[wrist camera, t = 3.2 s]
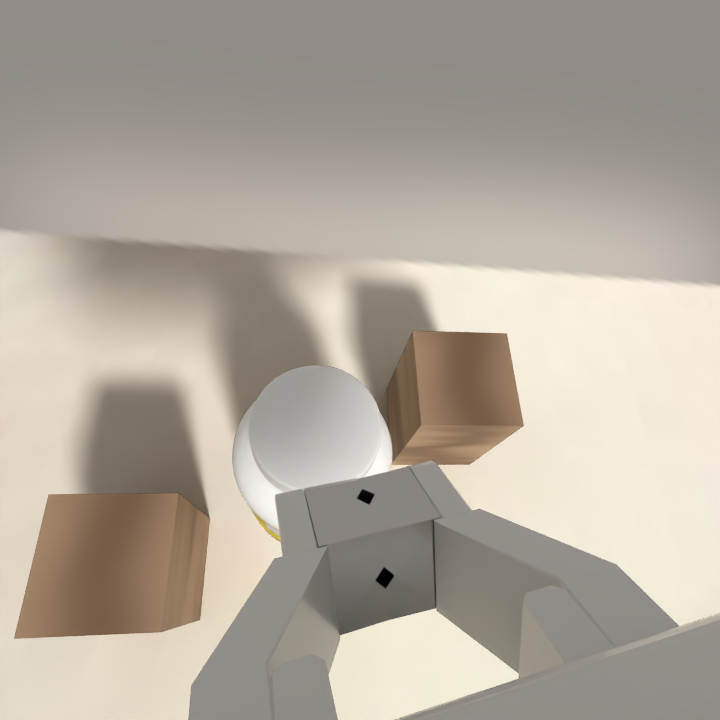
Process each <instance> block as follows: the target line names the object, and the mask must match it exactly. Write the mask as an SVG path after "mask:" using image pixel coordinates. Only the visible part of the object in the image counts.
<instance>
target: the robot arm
mask: <svg viewBox="0 0 720 720" xmlns="http://www.w3.org/2000/svg"><path fill="white" fill-rule="evenodd" d="M275 504H276V511H277V518H278V525H279V532H280V539H281V546H282V553H283V557H279V558H275V559H274V560H273V562H272V563H271V565H270V566H269V568H268V569H267V571H266V572H265V574H264V575H263V577H262V578H261V580H260V581H259V583H258V584H257V586H256V588H255V589H254V591H253V592H252V594H251V595H250V597H249V598H248V600H247V601H246V603H245V604H244V606H243V607H242V609H241V610H240V612H239V614H238V615H237V617H236V618H235V620H234V621H233V623H232V624H231V626H230V627H229V629H228V630H227V632H226V633H225V635H224V636H223V638H222V639H221V641H220V643H219V644H218V646H217V647H216V649H215V650H214V652H213V653H212V655H211V656H210V658H209V659H208V661H207V662H206V664H205V665H204V667H203V669H202V670H201V672H200V673H199V675H198V676H197V678H196V679H195V681H194V682H193V684H192V685H191V696H190V708H189V719H188V720H338V719H337V715H336V710H335V705H334V700H333V696H332V691H331V686H330V681H329V677H328V675H329V672H330V668H331V665H332V662H333V659H334V656H335V653H336V650H337V647H338V644H339V640H340V635H342V634H346V633H349V632H352V631H355V630H358V629H361V628H365V627H368V626H371V625H374V624H377V623H380V622H384V621H387V620H391V619H395V618H399V617H403V616H407V615H411V614H415V613H419V612H423V611H427V610H430V609H434V608H437V611H438V612H439V613H440V614H442V615H443V616H444V617H446V618H447V619H448V620H450V621H451V622H452V623H454V624H455V625H456V626H457V627H459V628H460V629H461V630H463V631H464V632H465V633H467V634H468V635H469V636H470V637H472V638H473V639H474V640H476V641H477V642H478V643H480V644H481V645H482V646H484V647H485V648H486V649H487V650H489V651H490V652H491V653H493V654H494V655H495V656H497V657H498V658H499V659H501V660H502V661H503V662H504V663H506V664H507V665H508V666H510V667H511V668H512V669H514V670H515V671H516V672H518V673H519V679H517V680H514V681H511V682H508V683H505V684H502V685H499V686H496V687H493V688H489V689H486V690H483V691H480V692H477V693H474V694H471V695H468V696H465V697H462V698H459V699H456V700H453V701H450V702H447V703H444V704H441V705H437V706H434V707H431V708H428V709H425V710H422V711H419V712H416V713H413V714H410V715H407V716H404V717H401V718H398V719H395V720H720V613H719V614H716V615H713V616H710V617H707V618H703V619H700V620H697V621H694V622H691V623H688V624H685V625H682V626H679V625H678V624H677V623H675V622H674V621H673V620H672V619H671V618H670V617H669V616H668V615H667V614H666V613H665V612H664V611H663V610H662V609H661V608H660V607H659V606H658V605H657V604H656V603H655V602H654V601H653V600H652V599H651V598H650V597H649V596H648V595H647V594H646V593H645V592H644V591H643V590H642V589H641V588H640V587H639V586H638V585H637V584H636V583H635V582H634V581H633V580H632V579H631V578H630V577H628V576H627V575H626V574H625V573H624V572H623V571H622V570H621V569H620V568H619V567H618V566H617V565H616V564H613V563H611V562H608V561H606V560H604V559H601V558H599V557H596V556H594V555H591V554H589V553H586V552H584V551H582V550H579V549H577V548H574V547H572V546H569V545H567V544H564V543H562V542H560V541H557V540H555V539H552V538H550V537H547V536H545V535H542V534H540V533H538V532H535V531H533V530H530V529H528V528H525V527H523V526H520V525H518V524H515V523H513V522H511V521H508V520H506V519H503V518H501V517H498V516H496V515H493V514H491V513H489V512H486V511H484V510H481V509H477V510H473V511H472V510H471V508H470V507H469V506H468V505H467V503H466V502H465V501H464V499H463V498H462V497H461V495H460V494H459V493H458V491H457V490H456V489H455V487H454V486H453V485H452V484H451V482H450V481H449V480H448V478H447V477H446V476H445V474H444V473H443V472H442V470H441V469H440V468H439V466H438V465H437V464H436V463H435V462H434V461H431V460H430V461H426V462H422V463H419V464H415V465H411V466H407V467H405V468H401V469H396V470H392V471H388V472H383V473H379V474H375V475H370V476H366V477H362V478H358V479H357V478H354V479H349V480H344V481H339V482H334V483H329V484H323V485H318V486H313V487H308V488H304V490H303V489H298V490H293V491H289V492H284V493H279V494H275Z"/></svg>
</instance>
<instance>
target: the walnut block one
mask: <svg viewBox="0 0 720 720" xmlns="http://www.w3.org/2000/svg"><path fill="white" fill-rule="evenodd" d="M209 523H210V518H208V517H207V516H206V515H205V514H204V513H202V512H201V511H200V510H199V509H197V508H196V507H195V506H194V505H193V504H191V503H190V502H189V501H188V500H186V499H185V498H184V497H183V496H181V495H180V494H179V493H144V494H51V495H48V499H47V504H46V508H45V512H44V516H43V520H42V524H41V529H40V533H39V537H38V541H37V545H36V549H35V554H34V558H33V562H32V566H31V570H30V574H29V579H28V583H27V587H26V591H25V595H24V599H23V604H22V608H21V612H20V616H19V620H18V624H17V629H16V633H15V637H14V639H17V638H40V637H62V636H85V635H108V634H130V633H153V632H163V631H166V630H169V629H172V628H176V627H179V626H182V625H185V624H188V623H191V622H195V621H198V620H200V615H201V605H202V595H203V584H204V574H205V564H206V554H207V543H208V533H209Z"/></svg>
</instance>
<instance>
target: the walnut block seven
mask: <svg viewBox="0 0 720 720" xmlns="http://www.w3.org/2000/svg"><path fill="white" fill-rule="evenodd" d="M387 405H388V422H389V433H390V437H391V442H392V465H415V464H419V463H422V462H426V461H430V460H431V461H434V462H435V463H436V464H437V465H455V464H471V463H472V462H474V461H475V460H476V459H478V458H479V457H481V456H482V455H483V454H485V453H486V452H488V451H489V450H490V449H492V448H493V447H495V446H496V445H497V444H499V443H500V442H502V441H503V440H504V439H506V438H507V437H509V436H510V435H511V434H513V433H514V432H516V431H517V430H518V429H520V428H521V427H523V426H524V425H523V420H522V414H521V409H520V403H519V398H518V392H517V387H516V381H515V376H514V370H513V365H512V360H511V354H510V349H509V343H508V338H507V334H504V333H471V332H438V331H413V332H412V334H411V336H410V338H409V341H408V343H407V345H406V347H405V349H404V352H403V354H402V356H401V358H400V360H399V363H398V365H397V367H396V369H395V371H394V374H393V376H392V378H391V380H390V383H389V385H388V387H387Z"/></svg>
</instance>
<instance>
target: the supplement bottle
mask: <svg viewBox="0 0 720 720" xmlns="http://www.w3.org/2000/svg"><path fill="white" fill-rule="evenodd" d="M232 463H233V470H234V476H235V479H236V482H237V485H238V488H239V490H240V492H241V494H242V496H243V498H244V499H245V501H246V502H247V504H248V505H249V507H250V508H251V510H252V512H253V513H254V515H255V516H256V518H257V519H258V521H259V522H260V524H261V525H262V526H263V528H264V529H265V530H266V531H267V532H268V533H269V534H270V535H271V536H272V537H274V538H275V539H276V540H278V541H280V542H281V539H280V532H279V525H278V518H277V511H276V504H275V494H279V493H284V492H289V491H293V490H298V489H303V490H304V488H308V487H313V486H318V485H323V484H329V483H334V482H339V481H344V480H349V479H354V478H357V479H358V478H362V477H366V476H370V475H375V474H379V473H383V472H388V471H391V466H392V442H391V437H390V433H389V430H388V427H387V425H386V422H385V420H384V418H383V416H382V415H381V413H380V411H379V408H378V406H377V403H376V401H375V399H374V398H373V396H372V394H371V393H370V392H369V390H368V389H367V388H366V387H365V386H364V385H363V384H362V383H361V382H360V381H359V380H358V379H356V378H355V377H353V376H352V375H350V374H348V373H346V372H345V371H343V370H340V369H337V368H334V367H329V366H321V365H312V366H303V367H299V368H295V369H292V370H289V371H287V372H285V373H283V374H281V375H280V376H278V377H277V378H275V379H274V380H273V381H271V382H270V383H269V384H268V385H267V386H266V387H265V388H264V389H263V391H262V392H261V393H260V395H259V396H258V398H257V400H256V401H255V402H254V403H253V404H252V405H251V406H250V408H249V409H248V410H247V412H246V413H245V415H244V416H243V418H242V420H241V422H240V424H239V426H238V429H237V432H236V435H235V439H234V444H233V453H232Z"/></svg>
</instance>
